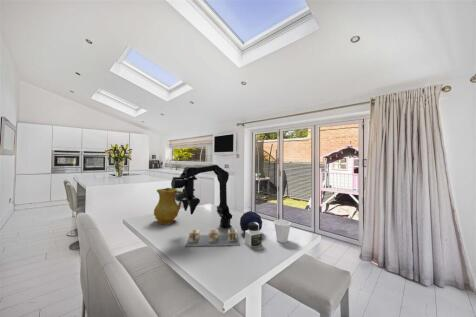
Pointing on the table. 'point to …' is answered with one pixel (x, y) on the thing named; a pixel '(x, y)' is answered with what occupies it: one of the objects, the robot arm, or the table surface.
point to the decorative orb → (250, 220)
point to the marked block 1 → (194, 236)
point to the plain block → (213, 236)
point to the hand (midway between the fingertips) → (188, 212)
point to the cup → (282, 230)
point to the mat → (205, 242)
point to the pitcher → (167, 206)
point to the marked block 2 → (232, 235)
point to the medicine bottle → (253, 235)
